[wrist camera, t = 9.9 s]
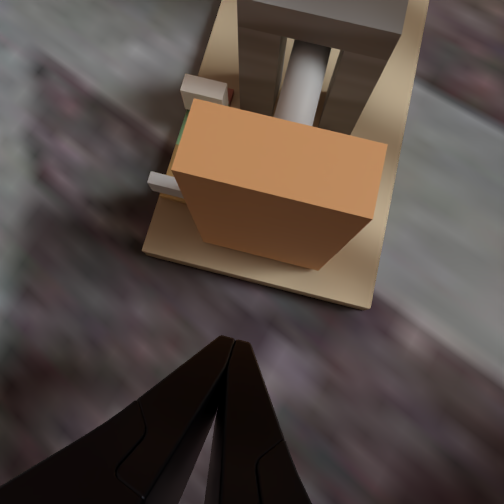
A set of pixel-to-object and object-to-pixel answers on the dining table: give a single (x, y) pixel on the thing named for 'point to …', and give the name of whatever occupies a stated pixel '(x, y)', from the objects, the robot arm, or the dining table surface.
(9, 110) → the dining table surface
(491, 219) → the dining table surface
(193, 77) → the tell-tale marker
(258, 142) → the plunger
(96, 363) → the dining table surface
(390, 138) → the wooden base with posts
